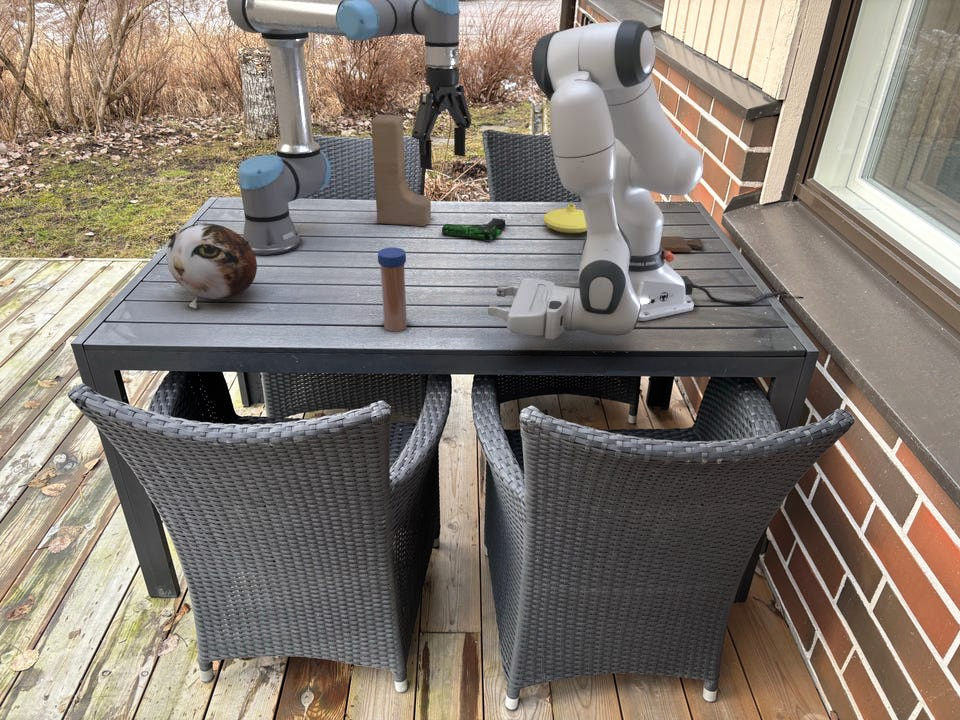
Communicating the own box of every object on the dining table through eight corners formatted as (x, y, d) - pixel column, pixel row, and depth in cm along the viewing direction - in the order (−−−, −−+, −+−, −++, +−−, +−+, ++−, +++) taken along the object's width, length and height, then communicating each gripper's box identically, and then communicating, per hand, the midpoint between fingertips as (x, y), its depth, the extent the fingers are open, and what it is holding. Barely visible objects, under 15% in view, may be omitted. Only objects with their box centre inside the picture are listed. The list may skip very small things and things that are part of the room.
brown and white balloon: (130, 285, 161) (164, 203, 163) (192, 308, 177) (221, 233, 178) (195, 307, 151) (229, 220, 152) (254, 330, 166) (285, 250, 168)
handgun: (511, 219, 210) (493, 234, 198) (511, 228, 211) (492, 244, 199) (461, 212, 215) (440, 226, 203) (461, 221, 217) (440, 236, 204)
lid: (375, 258, 151) (375, 248, 150) (402, 255, 153) (401, 246, 152) (381, 268, 147) (380, 259, 146) (408, 265, 148) (408, 256, 147)
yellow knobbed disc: (559, 216, 220) (561, 193, 217) (605, 227, 212) (608, 204, 209) (532, 230, 209) (533, 207, 206) (580, 242, 201) (582, 218, 198)
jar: (381, 322, 159) (377, 251, 150) (404, 319, 160) (400, 248, 152) (386, 332, 155) (382, 260, 146) (409, 329, 156) (406, 257, 148)
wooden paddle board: (706, 254, 196) (698, 241, 204) (708, 249, 195) (699, 236, 203) (612, 251, 196) (608, 238, 205) (613, 245, 195) (608, 232, 204)
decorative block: (426, 226, 211) (423, 122, 195) (376, 223, 212) (370, 119, 197) (431, 218, 217) (429, 116, 202) (383, 215, 219) (377, 114, 203)
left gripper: (421, 75, 148) (424, 176, 159) (486, 61, 166) (485, 153, 177) (393, 71, 151) (397, 171, 162) (460, 58, 169) (460, 148, 180)
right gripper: (565, 274, 154) (502, 267, 156) (554, 314, 137) (483, 306, 139) (562, 301, 157) (501, 294, 159) (551, 343, 140) (482, 335, 142)
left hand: (443, 161), depth 169 cm, fingers open, 13 cm apart
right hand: (492, 300), depth 149 cm, fingers open, 8 cm apart
